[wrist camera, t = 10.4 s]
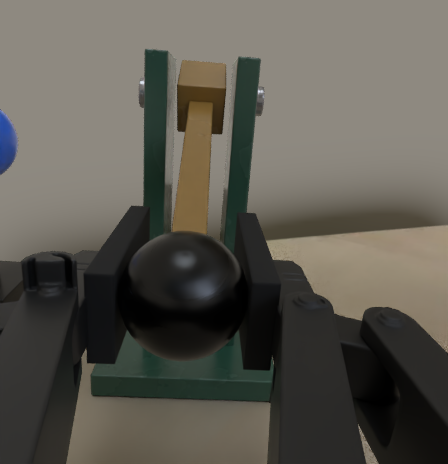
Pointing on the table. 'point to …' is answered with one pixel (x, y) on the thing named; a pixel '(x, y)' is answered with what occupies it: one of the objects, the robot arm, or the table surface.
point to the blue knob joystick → (3, 154)
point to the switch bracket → (160, 202)
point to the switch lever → (187, 245)
